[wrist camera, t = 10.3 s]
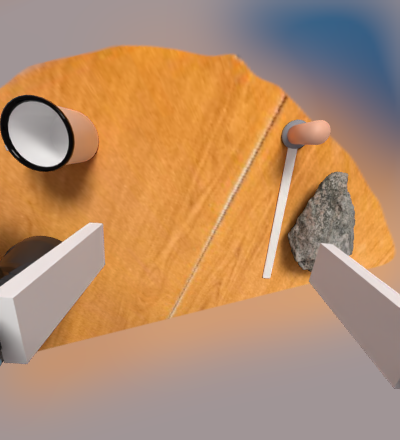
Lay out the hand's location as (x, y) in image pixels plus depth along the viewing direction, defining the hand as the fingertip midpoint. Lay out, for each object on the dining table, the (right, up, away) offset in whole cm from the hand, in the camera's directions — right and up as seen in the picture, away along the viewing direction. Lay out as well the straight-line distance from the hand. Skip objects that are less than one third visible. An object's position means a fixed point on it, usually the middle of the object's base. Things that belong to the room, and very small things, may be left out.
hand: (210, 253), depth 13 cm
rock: (+21, +2, +28) cm, 35 cm away
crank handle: (+14, +4, +27) cm, 31 cm away
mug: (-23, +16, +24) cm, 37 cm away
